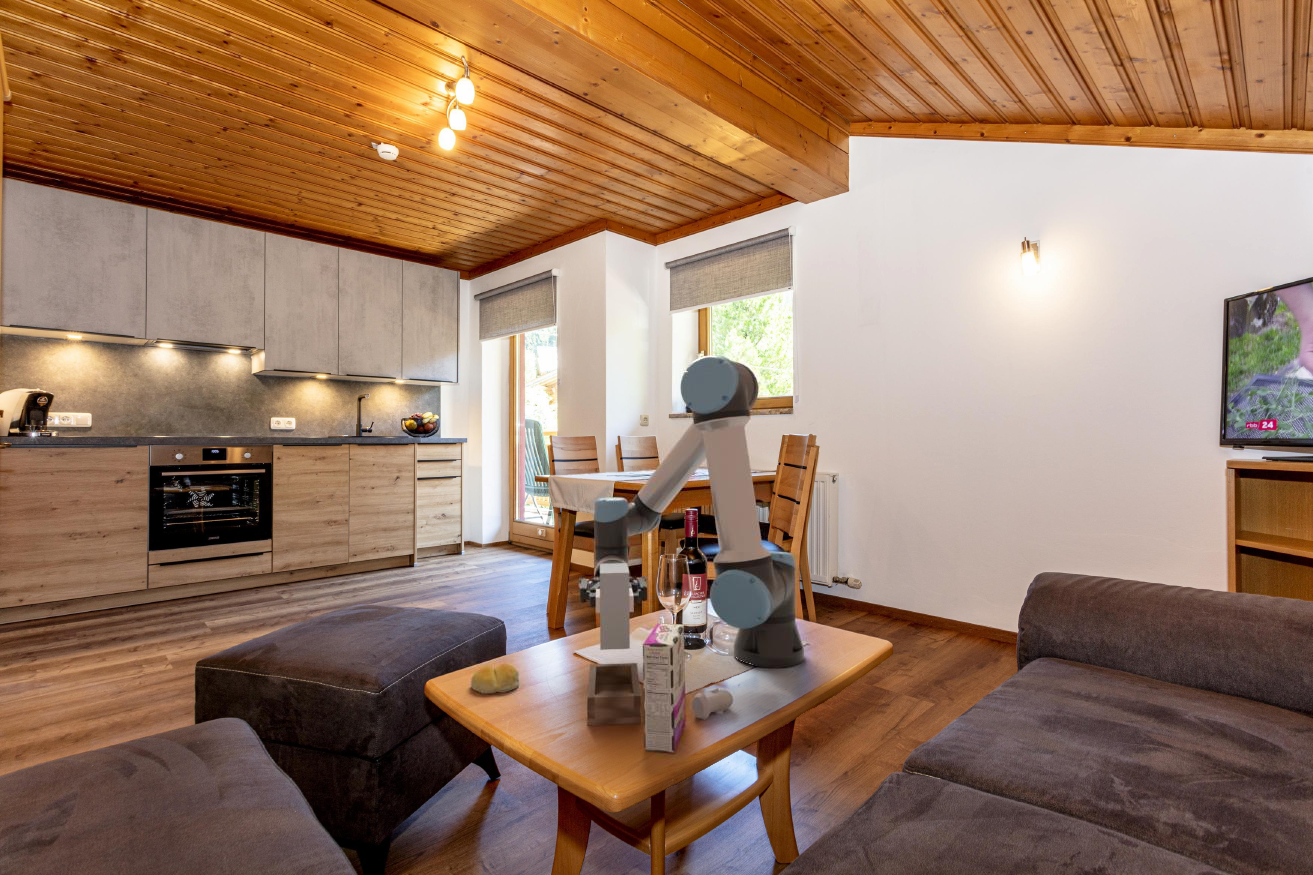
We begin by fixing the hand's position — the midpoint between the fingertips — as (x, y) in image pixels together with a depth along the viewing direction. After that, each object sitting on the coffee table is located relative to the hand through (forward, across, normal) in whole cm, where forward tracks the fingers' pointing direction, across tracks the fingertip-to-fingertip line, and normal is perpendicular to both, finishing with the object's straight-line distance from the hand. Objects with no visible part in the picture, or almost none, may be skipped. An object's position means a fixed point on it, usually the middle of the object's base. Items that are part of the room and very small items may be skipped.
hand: (614, 604), depth 108 cm
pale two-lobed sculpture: (0, -16, -19) cm, 25 cm away
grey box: (-4, 0, -8) cm, 9 cm away
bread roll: (-16, +22, -19) cm, 34 cm away
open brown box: (-5, 0, -19) cm, 19 cm away
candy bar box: (+8, -8, -19) cm, 22 cm away
